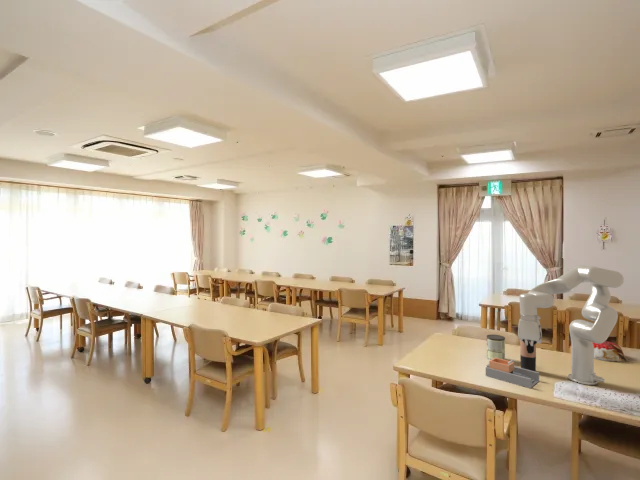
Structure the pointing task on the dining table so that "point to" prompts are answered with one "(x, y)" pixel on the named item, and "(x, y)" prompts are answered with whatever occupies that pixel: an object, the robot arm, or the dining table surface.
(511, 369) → the orange drawer with handle
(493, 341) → the coffee can
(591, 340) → the robot arm
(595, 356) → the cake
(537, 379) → the drawer housing
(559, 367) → the dining table surface
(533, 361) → the travel mug
